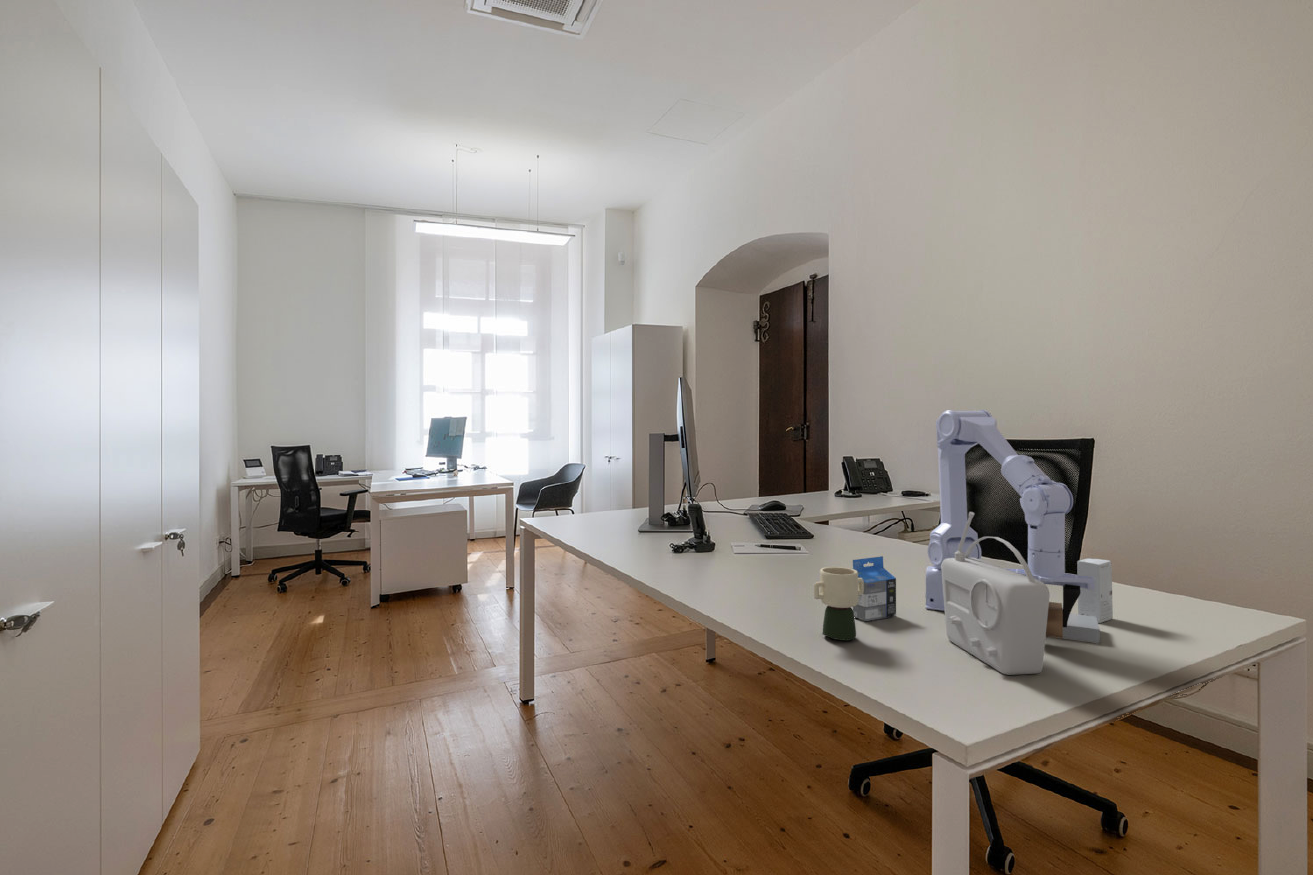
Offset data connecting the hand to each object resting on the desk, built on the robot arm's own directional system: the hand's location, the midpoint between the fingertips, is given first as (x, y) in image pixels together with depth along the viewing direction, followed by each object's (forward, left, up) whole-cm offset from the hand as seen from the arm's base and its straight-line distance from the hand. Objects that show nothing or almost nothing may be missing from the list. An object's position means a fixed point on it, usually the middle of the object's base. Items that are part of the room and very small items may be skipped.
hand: (1045, 623), depth 114 cm
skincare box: (+9, +24, -4) cm, 26 cm away
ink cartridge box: (-31, +3, -4) cm, 31 cm away
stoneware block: (+4, +11, -5) cm, 13 cm away
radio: (-9, -11, -4) cm, 15 cm away
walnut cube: (0, 0, -2) cm, 2 cm away
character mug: (-34, -14, -4) cm, 37 cm away
